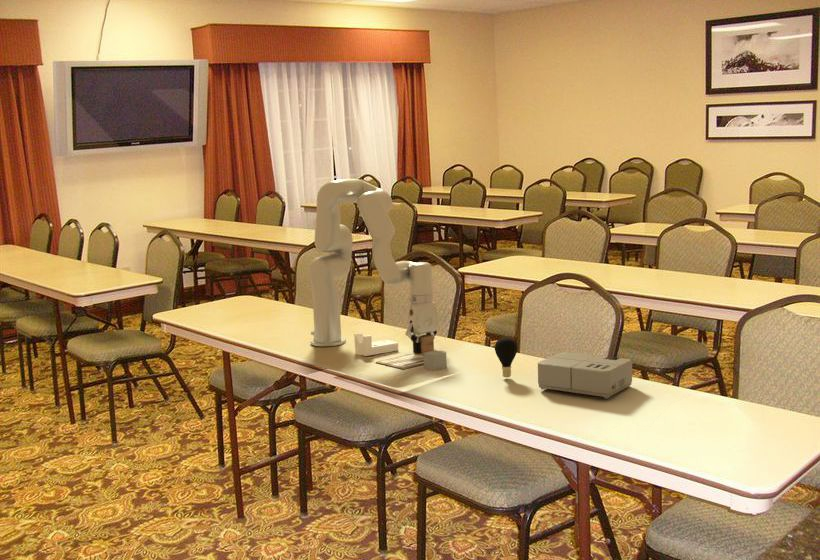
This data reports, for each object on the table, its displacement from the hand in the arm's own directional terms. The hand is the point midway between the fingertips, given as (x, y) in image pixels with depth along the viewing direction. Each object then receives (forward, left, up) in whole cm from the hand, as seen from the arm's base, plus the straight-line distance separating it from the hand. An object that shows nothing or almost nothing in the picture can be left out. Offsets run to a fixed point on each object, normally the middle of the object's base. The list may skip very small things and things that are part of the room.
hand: (423, 351), depth 294 cm
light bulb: (+44, -6, -1) cm, 44 cm away
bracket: (-12, -11, -1) cm, 16 cm away
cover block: (+16, -12, +2) cm, 20 cm away
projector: (+67, +1, -1) cm, 68 cm away
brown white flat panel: (+6, -12, 0) cm, 13 cm away
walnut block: (0, 0, 0) cm, 0 cm away
